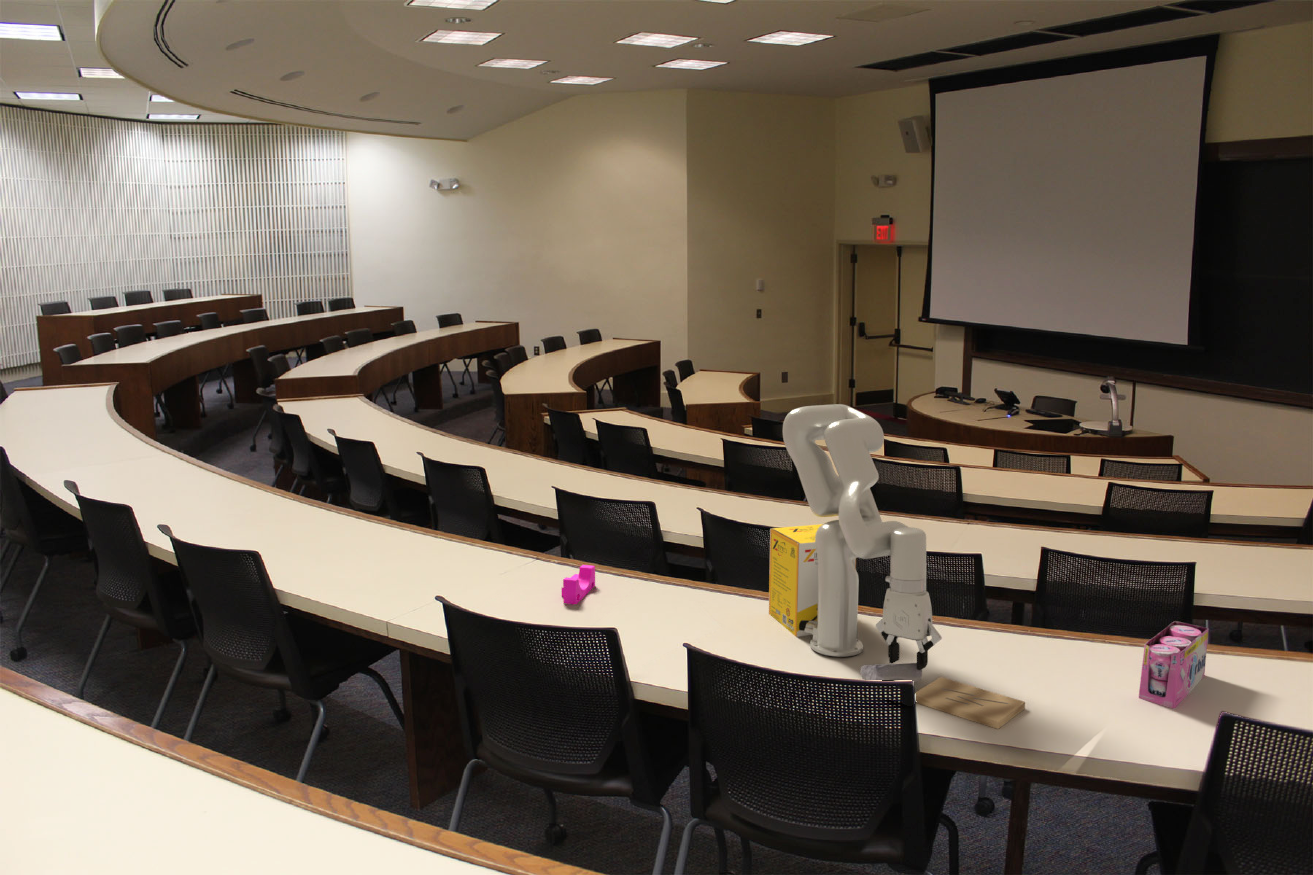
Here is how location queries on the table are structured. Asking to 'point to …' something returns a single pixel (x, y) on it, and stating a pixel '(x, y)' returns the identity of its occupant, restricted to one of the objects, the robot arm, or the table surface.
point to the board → (969, 702)
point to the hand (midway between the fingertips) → (907, 664)
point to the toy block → (578, 584)
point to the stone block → (891, 672)
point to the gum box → (1173, 663)
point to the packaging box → (794, 577)
